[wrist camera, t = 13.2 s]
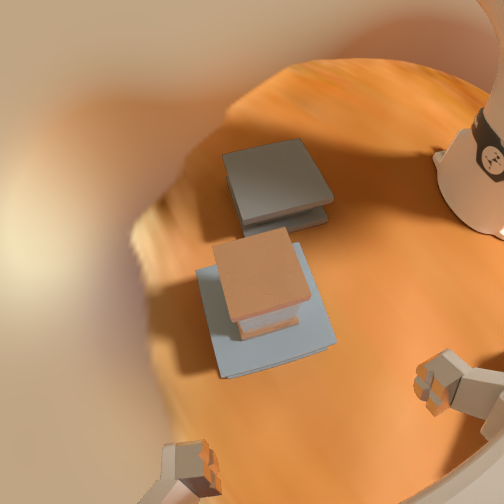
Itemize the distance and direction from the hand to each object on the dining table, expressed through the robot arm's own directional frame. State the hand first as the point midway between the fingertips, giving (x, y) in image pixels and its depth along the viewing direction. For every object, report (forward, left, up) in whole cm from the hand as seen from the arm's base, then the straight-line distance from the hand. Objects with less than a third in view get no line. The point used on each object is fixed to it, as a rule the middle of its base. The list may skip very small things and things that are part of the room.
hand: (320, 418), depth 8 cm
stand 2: (-2, -8, -18) cm, 20 cm away
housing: (-2, -8, -13) cm, 16 cm away
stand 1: (-11, -20, -18) cm, 29 cm away
